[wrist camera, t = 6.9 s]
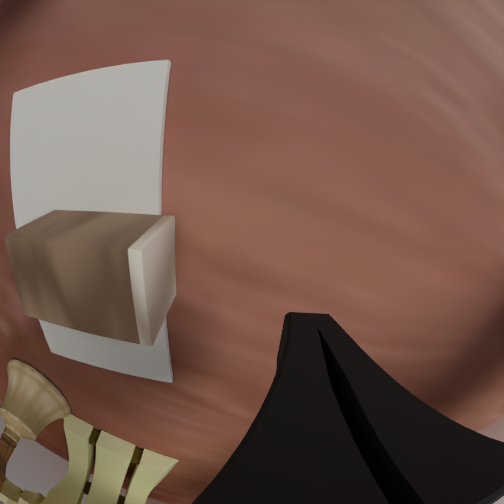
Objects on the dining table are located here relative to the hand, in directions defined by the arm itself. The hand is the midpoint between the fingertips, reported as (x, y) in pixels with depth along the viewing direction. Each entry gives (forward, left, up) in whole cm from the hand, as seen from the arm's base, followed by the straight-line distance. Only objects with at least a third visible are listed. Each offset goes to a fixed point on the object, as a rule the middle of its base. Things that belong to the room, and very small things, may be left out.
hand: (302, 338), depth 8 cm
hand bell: (-16, +22, -6) cm, 28 cm away
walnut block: (0, +5, -3) cm, 6 cm away
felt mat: (0, +11, -5) cm, 12 cm away
